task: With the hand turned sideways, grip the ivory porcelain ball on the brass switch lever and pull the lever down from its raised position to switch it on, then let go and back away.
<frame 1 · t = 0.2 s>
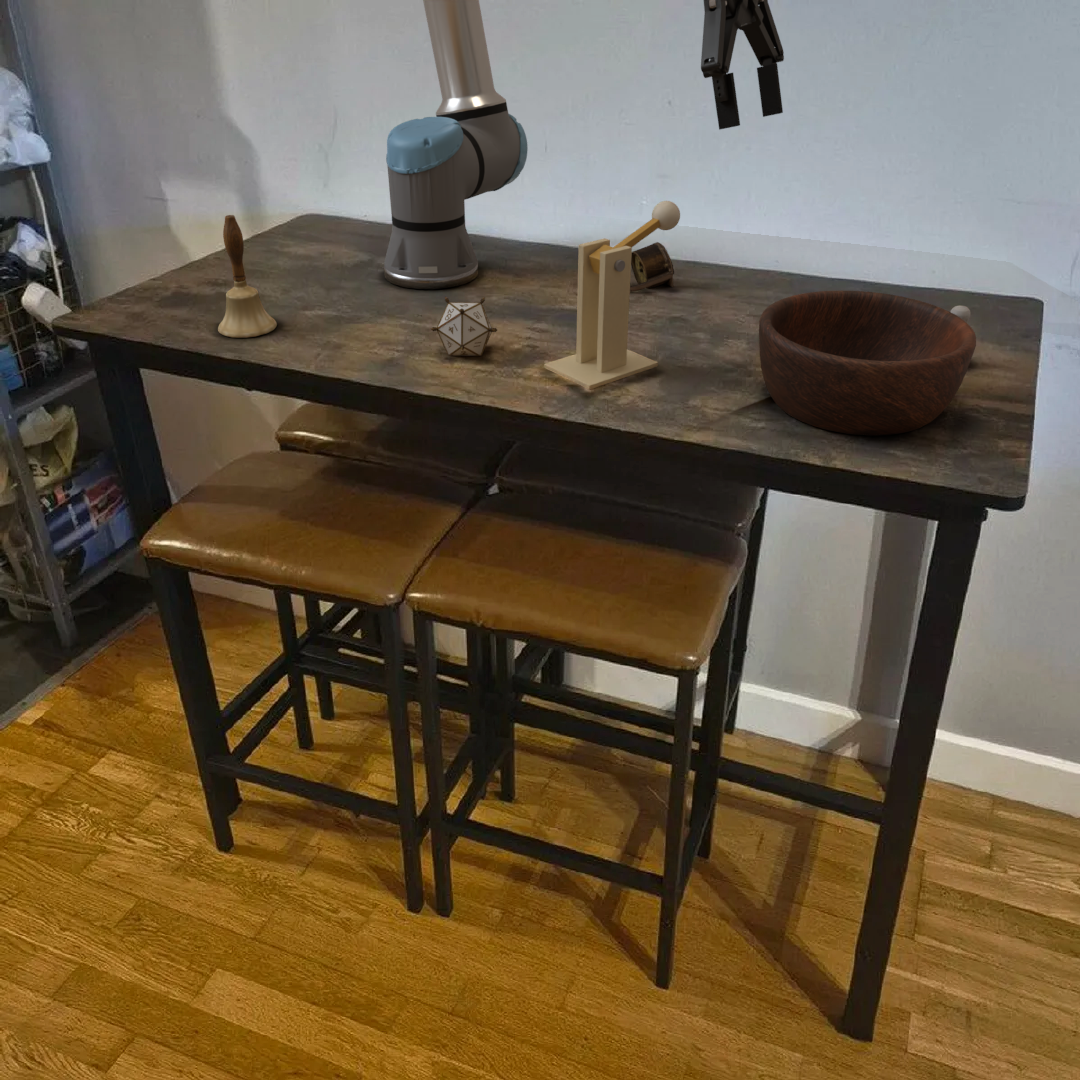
hand: (752, 121, 145), 27 cm above the table, tool tilted 15°, fingers open, 13 cm apart
chess piece: (949, 364, 143), on the table
lever: (636, 236, 133), point 17 cm above the table, hinge at 20.0°
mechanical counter: (633, 290, 168), on the table
game die: (465, 358, 144), on the table
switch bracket: (600, 372, 139), on the table
hand bell: (247, 329, 153), on the table
wooden bowl: (852, 404, 132), on the table
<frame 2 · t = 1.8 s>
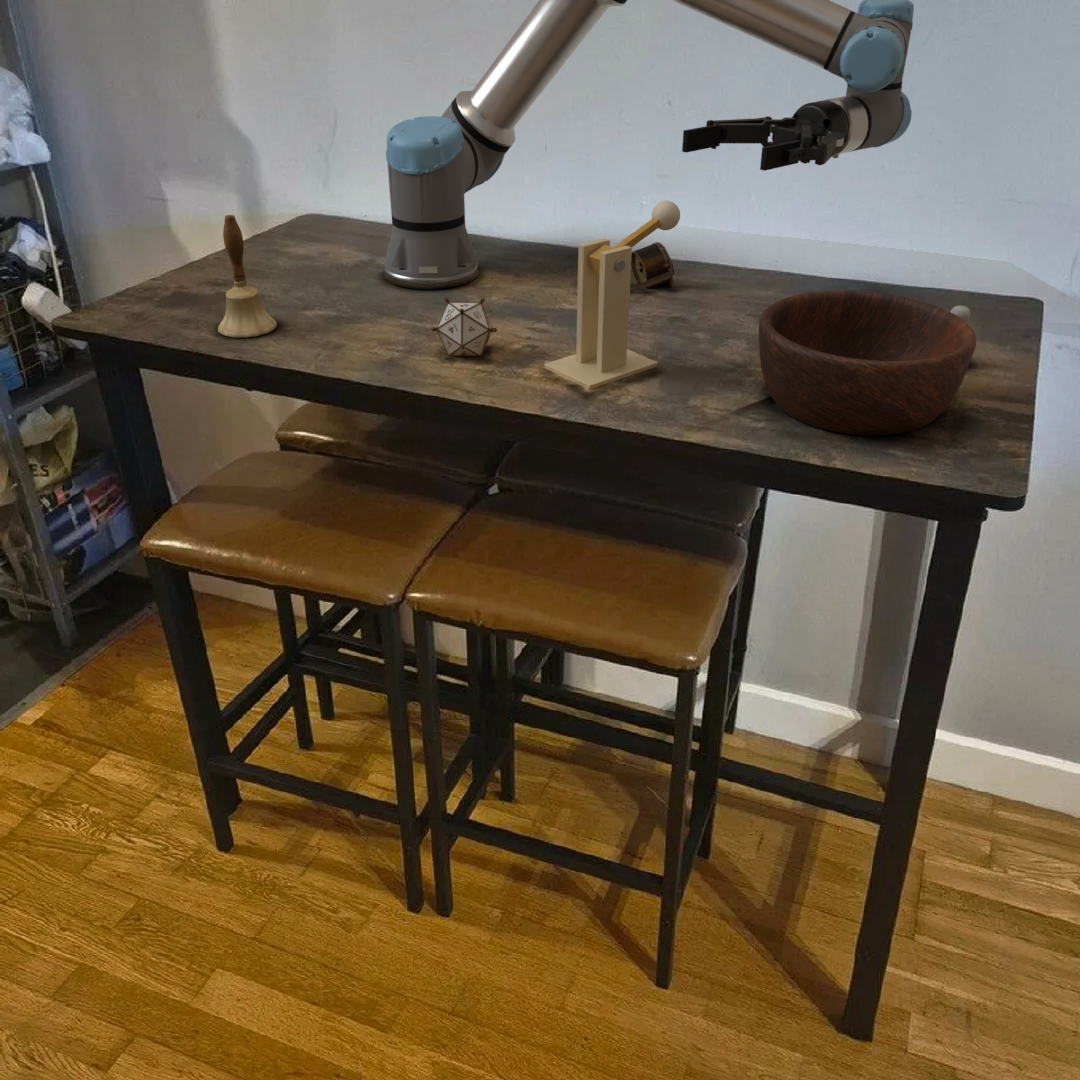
hand: (722, 150, 137), 26 cm above the table, tool horizontal, fingers open, 13 cm apart
nothing on the table moved.
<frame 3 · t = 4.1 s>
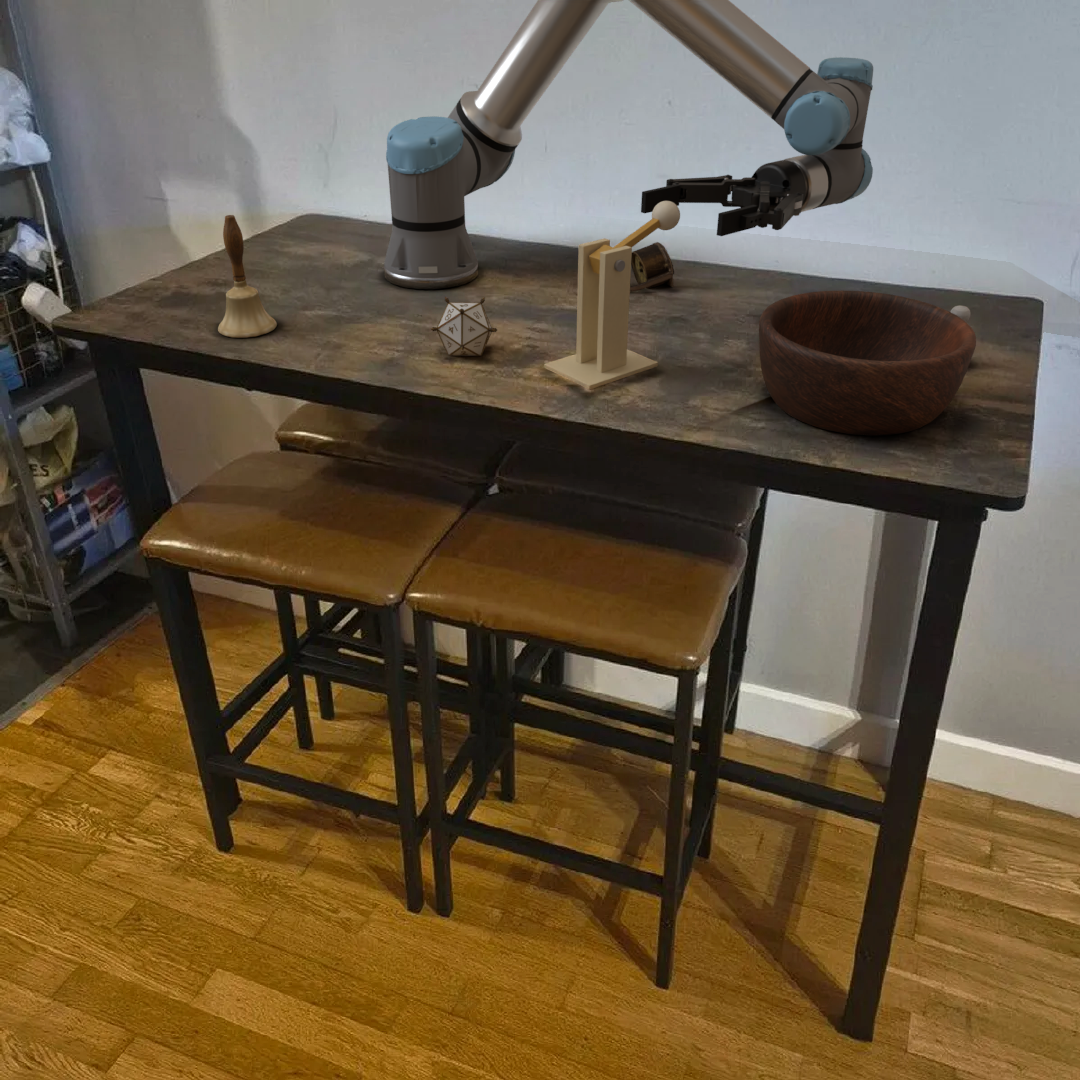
hand: (680, 213, 136), 19 cm above the table, tool horizontal, fingers open, 13 cm apart
nothing on the table moved.
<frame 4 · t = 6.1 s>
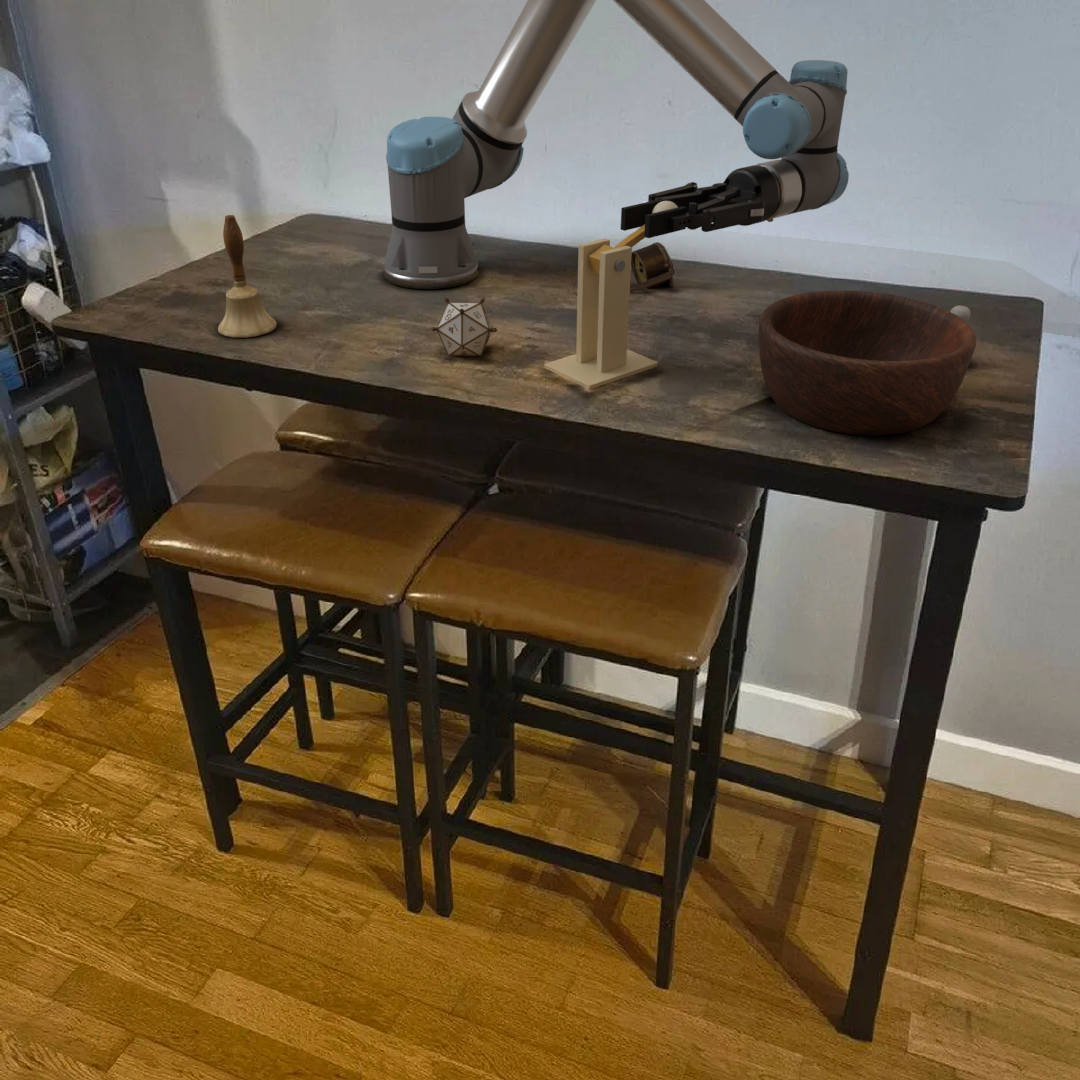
hand: (635, 222, 132), 19 cm above the table, tool horizontal, fingers closed on lever, 4 cm apart
lever: (636, 236, 133), point 17 cm above the table, hinge at 20.0°, touching gripper
everything else where it was.
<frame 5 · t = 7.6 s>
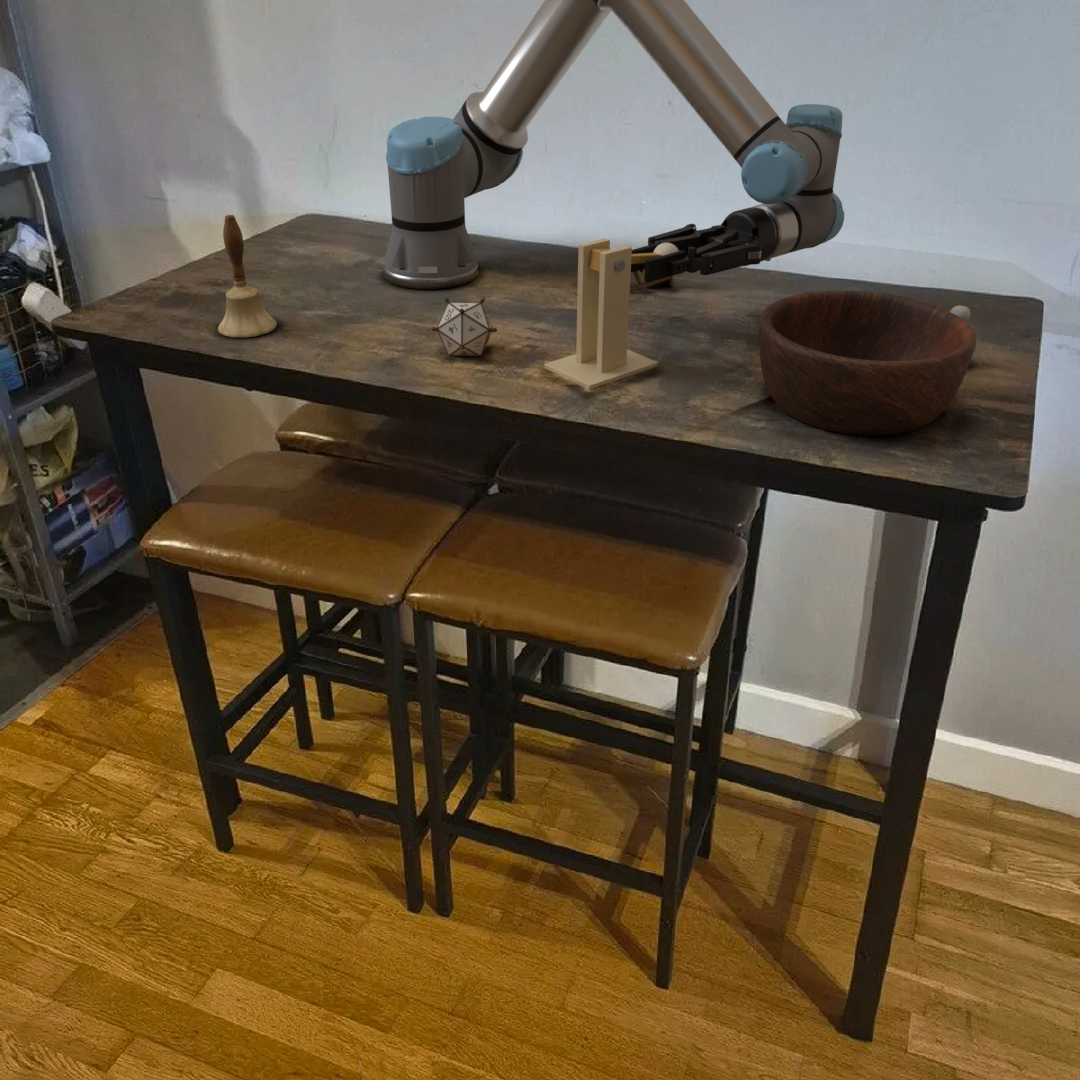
hand: (635, 267, 135), 13 cm above the table, tool horizontal, fingers closed on lever, 4 cm apart
lever: (637, 258, 135), point 14 cm above the table, hinge at -8.8°, touching gripper
everything else where it was.
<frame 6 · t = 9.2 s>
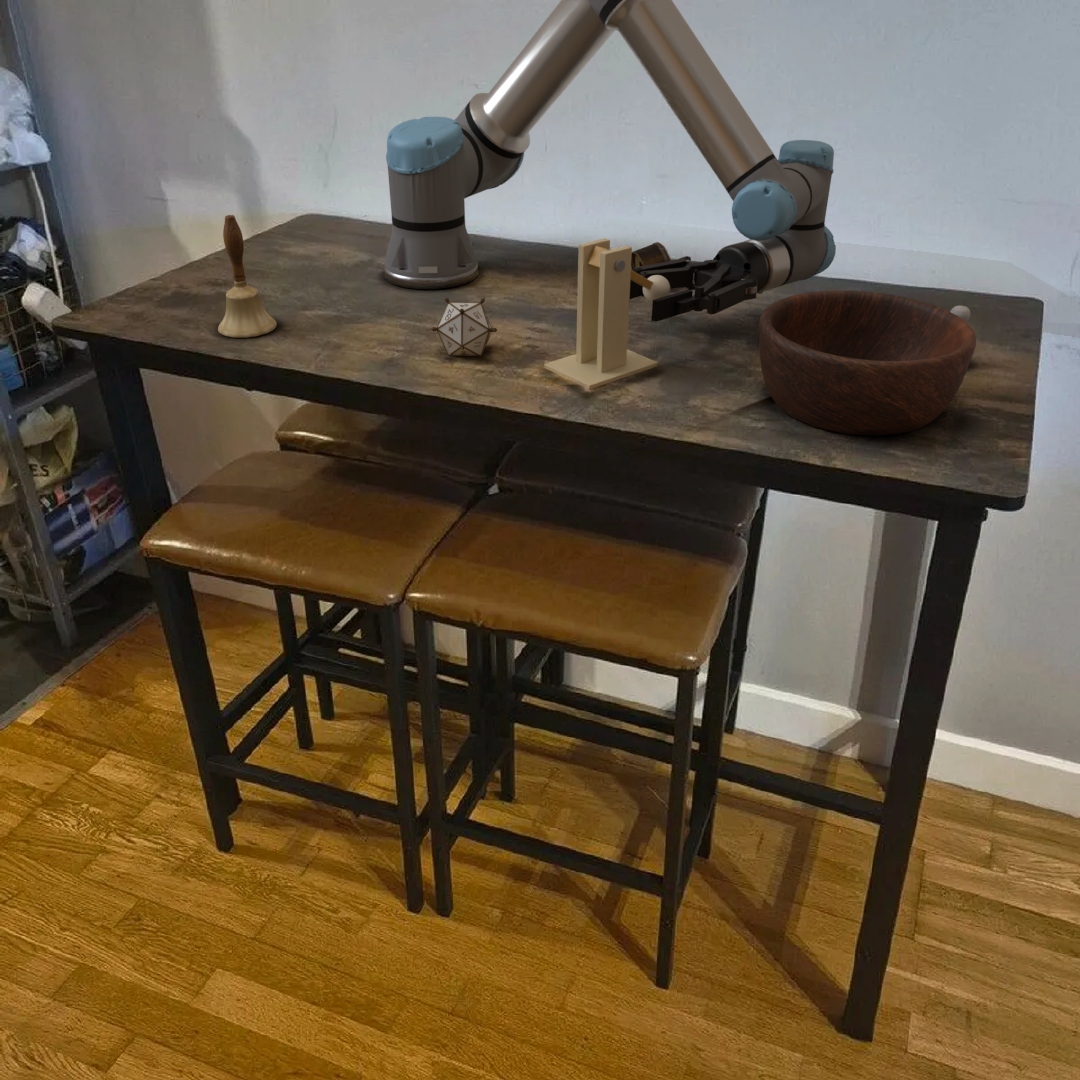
hand: (631, 302, 138), 8 cm above the table, tool horizontal, fingers open, 8 cm apart
lever: (632, 275, 136), point 12 cm above the table, hinge at -31.0°
everything else where it was.
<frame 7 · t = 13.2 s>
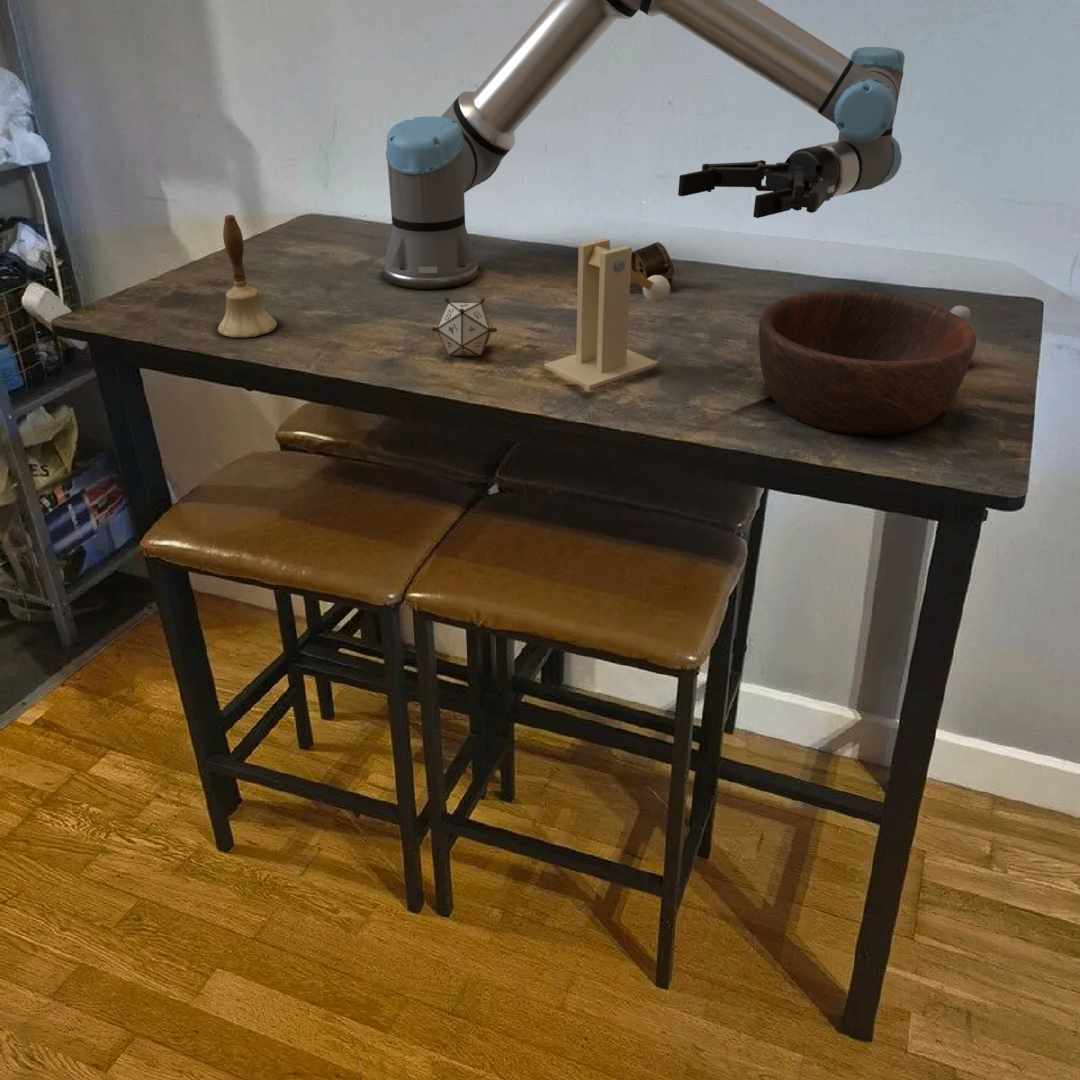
hand: (717, 196, 141), 19 cm above the table, tool horizontal, fingers open, 13 cm apart
nothing on the table moved.
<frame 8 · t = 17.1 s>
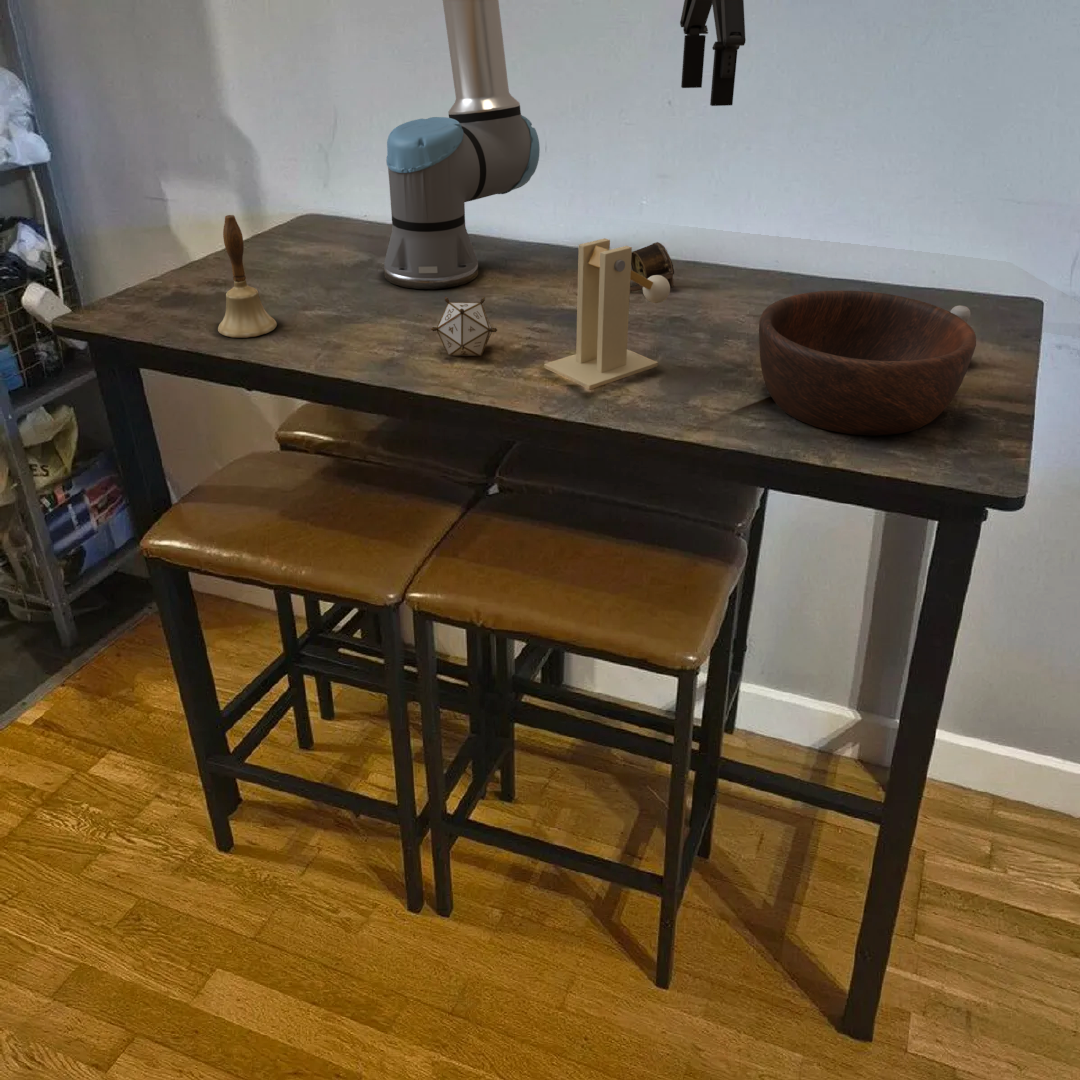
hand: (705, 96, 141), 31 cm above the table, tool pointing down, fingers open, 13 cm apart
nothing on the table moved.
at the end: lever at -31° (first picture: +20°); the gripper is holding nothing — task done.
